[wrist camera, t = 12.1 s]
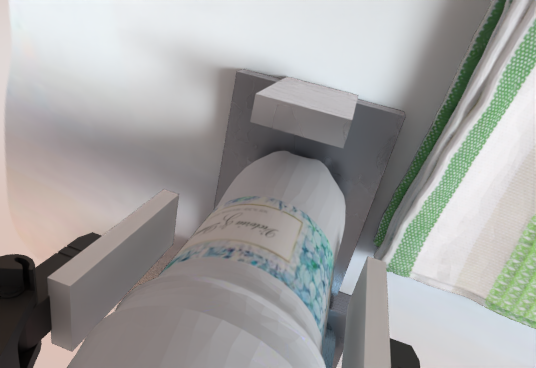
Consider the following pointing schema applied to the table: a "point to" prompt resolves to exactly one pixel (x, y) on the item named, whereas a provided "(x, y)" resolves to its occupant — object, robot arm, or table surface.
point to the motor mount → (314, 155)
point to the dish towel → (476, 177)
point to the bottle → (238, 281)
